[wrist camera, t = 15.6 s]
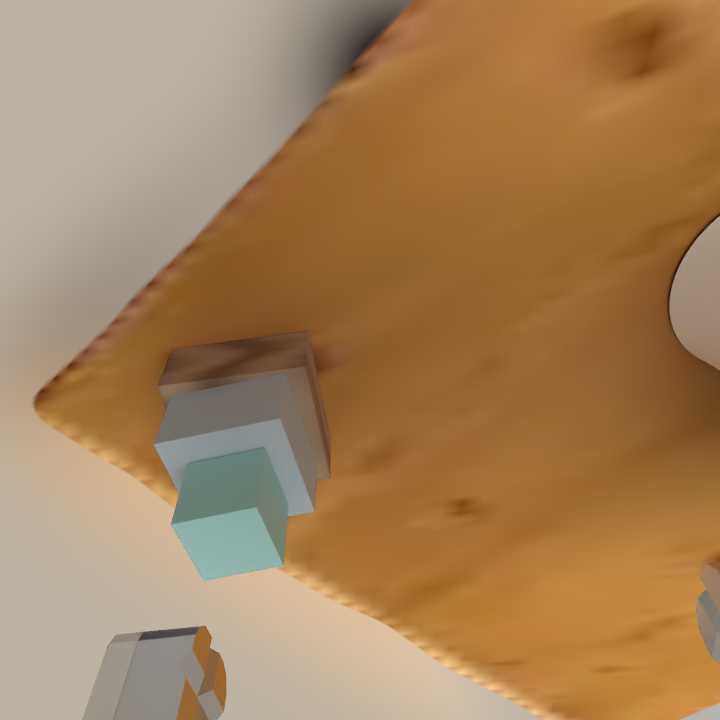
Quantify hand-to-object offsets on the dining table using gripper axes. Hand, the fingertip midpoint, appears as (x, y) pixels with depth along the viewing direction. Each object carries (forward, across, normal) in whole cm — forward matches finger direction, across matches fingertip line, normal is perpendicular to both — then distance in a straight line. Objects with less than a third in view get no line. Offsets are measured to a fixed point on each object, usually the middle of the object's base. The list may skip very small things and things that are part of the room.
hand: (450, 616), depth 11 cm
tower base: (+34, +12, +18) cm, 40 cm away
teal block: (+24, +12, +18) cm, 32 cm away
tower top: (+29, +12, +18) cm, 36 cm away
